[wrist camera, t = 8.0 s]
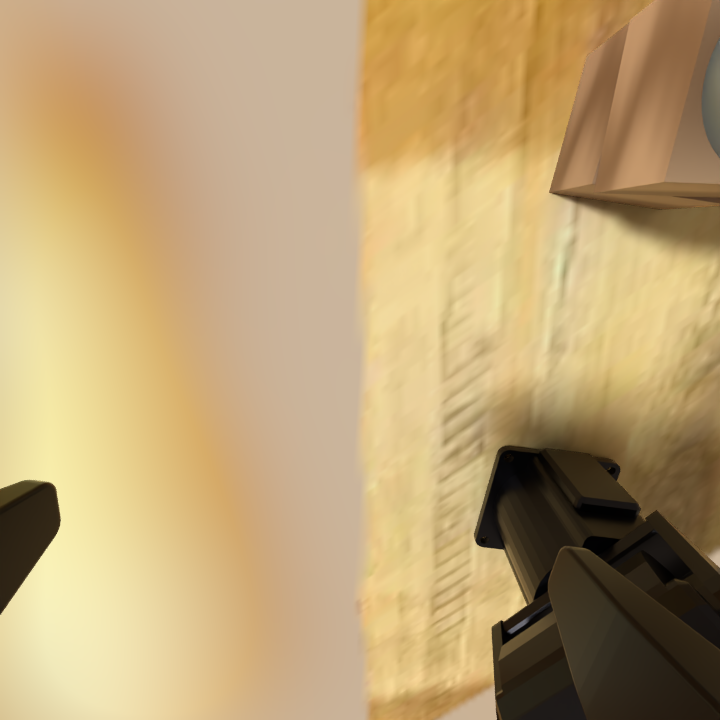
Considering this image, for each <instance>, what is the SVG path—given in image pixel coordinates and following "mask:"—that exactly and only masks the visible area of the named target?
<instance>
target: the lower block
mask: <svg viewBox="0 0 720 720" xmlns="http://www.w3.org/2000/svg"><path fill="white" fill-rule="evenodd" d="M629 23H630V22H629ZM629 23H628V24H627V25H625V26H624V27H623V28H622V29H620V30H619V31H618V32H617V33H615V34H614V35H613V36H612V37H610V38H609V39H608V40H606V41H605V42H604V43H603V44H601V45H600V46H599V47H598V48H596V49H595V50H594V51H593V52H591V53H590V54H589V55H588V56H587V57H586V61H585V64H584V68H583V72H582V75H581V79H580V83H579V86H578V90H577V93H576V97H575V101H574V104H573V108H572V112H571V115H570V119H569V122H568V126H567V130H566V133H565V137H564V141H563V144H562V148H561V151H560V155H559V159H558V162H557V166H556V170H555V173H554V177H553V180H552V184H551V188H550V191H549V193H556V194H562V195H569V196H576V197H582V198H589V199H595V200H602V201H608V202H615V203H622V204H628V205H635V206H641V207H648V208H654V209H676V208H691V207H707V206H720V198H708V197H682V196H656V195H630V194H604V193H593V191H594V187H595V182H596V177H597V173H598V168H599V163H600V159H601V154H602V149H603V144H604V140H605V135H606V130H607V126H608V121H609V116H610V112H611V107H612V102H613V98H614V93H615V88H616V84H617V79H618V74H619V70H620V65H621V60H622V55H623V51H624V46H625V41H626V37H627V32H628V27H629Z"/></svg>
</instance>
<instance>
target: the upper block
mask: <svg viewBox="0 0 720 720" xmlns="http://www.w3.org/2000/svg"><path fill="white" fill-rule="evenodd" d="M719 38H720V0H654V1H653V2H652V3H650V4H649V5H648V6H647V7H645V8H644V9H643V10H642V11H640V12H639V13H638V14H637V15H635V16H634V17H633V18H632V19H630V23H629V27H628V32H627V37H626V41H625V46H624V51H623V55H622V60H621V65H620V70H619V74H618V79H617V84H616V88H615V93H614V98H613V102H612V107H611V112H610V116H609V121H608V126H607V130H606V135H605V140H604V144H603V149H602V154H601V159H600V163H599V168H598V173H597V177H596V182H595V187H594V191H593V193H604V194H630V195H656V196H682V197H708V198H720V158H719V157H718V155H717V154H716V152H715V151H714V150H713V148H712V146H711V144H710V142H709V140H708V138H707V135H706V132H705V128H704V124H703V117H702V92H703V84H704V79H705V75H706V70H707V67H708V64H709V61H710V58H711V55H712V53H713V51H714V48H715V46H716V44H717V42H718V40H719Z"/></svg>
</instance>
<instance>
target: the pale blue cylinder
mask: <svg viewBox="0 0 720 720" xmlns="http://www.w3.org/2000/svg"><path fill="white" fill-rule="evenodd" d="M702 117H703V124H704V128H705V132H706V135H707V138H708V140H709V142H710V144H711V146H712V148H713V150H714V151H715V152H716V154H717V155H718V157H719V158H720V38H719V40H718V42H717V44H716V46H715V48H714V51H713V53H712V55H711V58H710V61H709V64H708V67H707V70H706V75H705V79H704V84H703V92H702Z"/></svg>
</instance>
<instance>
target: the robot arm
mask: <svg viewBox="0 0 720 720" xmlns="http://www.w3.org/2000/svg"><path fill="white" fill-rule="evenodd" d="M507 454H511V456H510V457H508V458H504V457H505V455H507ZM609 467H611V468H610V469H609V470H608V471H606V470H607V469H608V468H609ZM619 473H620V466H619V465H617V464H616V463H615V462H614V461H613V460H611V459H606V458H598V457H592V456H591V455H590V454H586V453H579V452H571V451H563V450H555V449H547V448H545V449H542V450H536V449H528V448H520V447H512V446H504V447H502V448H500V449H499V450H498V452H497V455H496V459H495V462H494V466H493V469H492V473H491V476H490V480H489V483H488V487H487V491H486V494H485V498H484V501H483V505H482V508H481V512H480V515H479V519H478V522H477V526H476V529H475V533H474V538H475V541H476V543H477V545H479V546H481V547H487V548H495V549H503V550H504V551H505V553H506V556H507V558H508V560H509V563H510V565H511V568H512V570H513V572H514V575H515V577H516V580H517V582H518V584H519V587H520V589H521V592H522V594H523V596H524V599H525V601H526V604H527V606H525V607H524V608H523V609H521V610H520V611H518V612H517V613H516V614H514V615H513V616H511V617H510V618H508V619H507V620H506V621H502V620H501V621H500V622H498V623H497V624H495V625H494V626H493V627H492V644H493V663H494V681H495V700H496V715H497V720H720V568H719V567H718V566H717V565H716V564H715V563H714V562H713V561H712V560H711V559H709V558H708V557H707V556H706V555H705V554H704V553H703V552H702V551H701V550H700V549H699V548H697V547H696V546H695V545H694V544H693V543H692V542H691V541H690V540H689V539H688V538H687V537H685V536H684V535H683V534H682V533H681V532H680V531H679V530H678V529H677V528H676V527H675V526H673V525H672V524H671V523H670V522H669V521H668V520H667V519H666V518H665V517H664V516H663V515H661V514H660V513H659V512H658V511H657V510H656V511H655V512H653V513H652V514H650V515H649V516H648V517H646V520H647V521H646V522H645V521H644V520H643V519H642V517H641V516H640V515H639V512H640V510H641V508H640V506H639V505H638V503H637V502H636V501H635V500H634V499H633V498H632V497H631V496H630V495H629V494H628V493H627V491H626V490H625V489H624V488H623V487H622V486H621V485H620V484H619V483H618V482H617V478H618V476H619ZM60 521H61V519H60V512H59V505H58V498H57V491H56V488H55V486H54V485H53V484H52V483H49V482H43V481H36V480H24V481H21V482H18V483H15V484H13V485H10V486H7V487H4V488H2V489H0V614H1V613H2V612H3V610H4V609H5V608H6V606H7V605H8V603H9V602H10V600H11V599H12V597H13V596H14V595H15V593H16V592H17V590H18V589H19V587H20V586H21V585H22V583H23V582H24V580H25V579H26V577H27V576H28V574H29V573H30V572H31V570H32V569H33V567H34V566H35V564H36V563H37V562H38V560H39V559H40V557H41V556H42V554H43V553H44V551H45V550H46V549H47V547H48V546H49V544H50V543H51V541H52V540H53V539H54V537H55V536H56V534H57V532H58V530H59V527H60ZM482 537H485V538H482Z"/></svg>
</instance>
